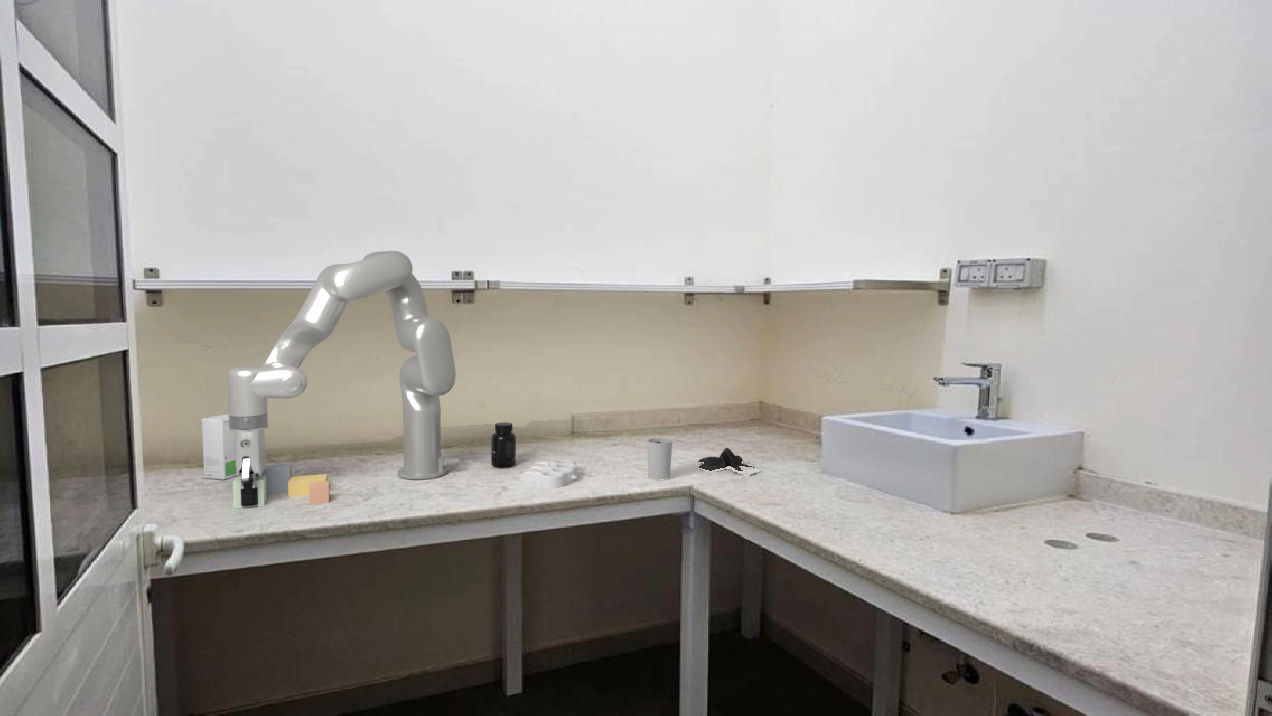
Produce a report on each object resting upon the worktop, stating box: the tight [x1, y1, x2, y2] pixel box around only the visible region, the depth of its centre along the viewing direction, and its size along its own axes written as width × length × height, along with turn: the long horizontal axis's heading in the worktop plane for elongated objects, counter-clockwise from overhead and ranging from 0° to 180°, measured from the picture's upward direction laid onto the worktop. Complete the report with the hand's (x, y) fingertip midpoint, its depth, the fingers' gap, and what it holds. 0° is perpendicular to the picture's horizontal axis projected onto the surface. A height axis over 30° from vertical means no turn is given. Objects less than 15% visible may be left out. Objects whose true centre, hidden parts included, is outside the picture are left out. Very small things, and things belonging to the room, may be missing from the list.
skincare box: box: [201, 414, 238, 480], centre depth 175 cm, size 8×7×16 cm
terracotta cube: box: [308, 481, 331, 505], centre depth 155 cm, size 4×4×4 cm
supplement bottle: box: [490, 421, 517, 469], centre depth 190 cm, size 7×7×12 cm
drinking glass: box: [647, 437, 673, 480], centre depth 180 cm, size 7×7×10 cm
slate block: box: [260, 463, 293, 495], centre depth 163 cm, size 6×4×6 cm, turn 112°
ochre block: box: [287, 473, 328, 497], centre depth 163 cm, size 8×6×4 cm
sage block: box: [232, 475, 268, 509], centre depth 152 cm, size 6×4×6 cm, turn 112°
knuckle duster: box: [519, 458, 583, 489], centre depth 178 cm, size 3×18×15 cm
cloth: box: [698, 447, 755, 471], centre depth 194 cm, size 22×19×6 cm
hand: (251, 501), depth 152 cm, fingers closed on sage block, 4 cm apart
